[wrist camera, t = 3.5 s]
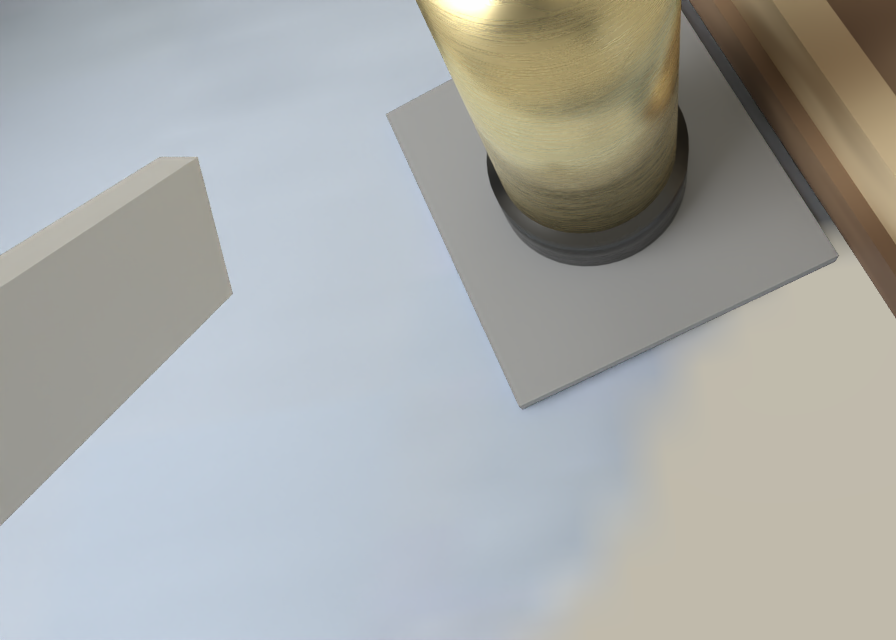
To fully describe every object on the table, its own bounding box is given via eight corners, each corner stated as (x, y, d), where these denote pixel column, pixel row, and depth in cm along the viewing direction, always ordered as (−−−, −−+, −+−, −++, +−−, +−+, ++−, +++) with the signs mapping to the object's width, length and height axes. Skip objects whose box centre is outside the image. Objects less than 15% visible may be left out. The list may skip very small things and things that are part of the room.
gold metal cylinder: (471, 147, 24) (324, -144, 14) (633, 63, 23) (608, -311, 13) (545, 298, 22) (442, 97, 12) (722, 212, 21) (776, -81, 11)
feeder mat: (390, 121, 25) (385, 114, 25) (655, -20, 24) (655, -31, 24) (522, 409, 22) (519, 406, 22) (834, 261, 21) (838, 255, 20)
